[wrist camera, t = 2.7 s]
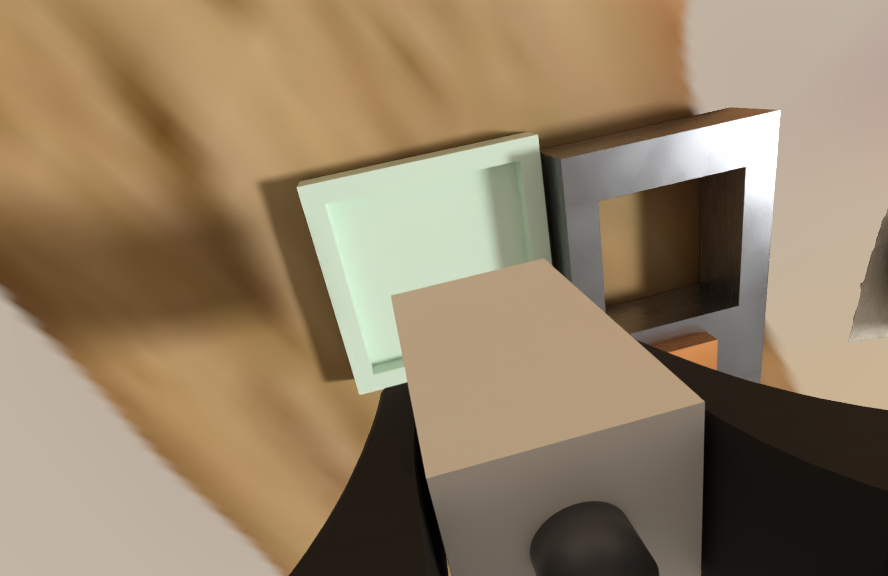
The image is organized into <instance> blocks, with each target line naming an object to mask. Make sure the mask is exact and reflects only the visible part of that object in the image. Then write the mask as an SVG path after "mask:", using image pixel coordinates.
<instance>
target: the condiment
mask: <svg viewBox="0 0 888 576" xmlns="http://www.w3.org/2000/svg"><path fill="white" fill-rule="evenodd" d="M860 286H861V296H860V300H859V304H858V307H857V310H856V312H855V315H854V318H853V326H852V330H851V334H850V337H849V341H848V342H853V341H863V340H867V339H871V338H883V337H888V210H887V214H886V216H885V217H884V218H883V221H882V224H881V228H880V230H879V233H878V236H877V239H876V244H875V248H874V250H873V252H872V254H871V258H870V261H869V265H868V268H867V273H866V276H865V280H864V282H863V283H861V284H860Z"/></svg>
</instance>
